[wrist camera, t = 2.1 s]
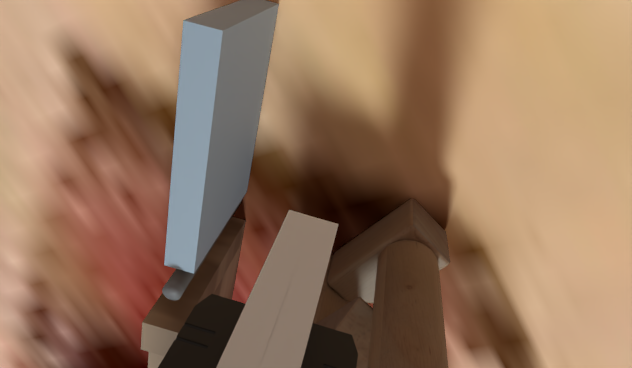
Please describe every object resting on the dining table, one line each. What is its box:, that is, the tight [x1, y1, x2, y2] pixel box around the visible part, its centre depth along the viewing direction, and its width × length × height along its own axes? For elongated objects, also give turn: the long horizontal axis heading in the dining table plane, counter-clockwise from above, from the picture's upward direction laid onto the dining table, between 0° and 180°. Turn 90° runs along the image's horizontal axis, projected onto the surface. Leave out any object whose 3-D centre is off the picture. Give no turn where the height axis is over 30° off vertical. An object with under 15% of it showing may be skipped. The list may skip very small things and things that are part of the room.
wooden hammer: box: [313, 198, 450, 368], centre depth 25 cm, size 4×11×18 cm, turn 135°
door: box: [164, 0, 279, 274], centre depth 25 cm, size 3×12×9 cm, turn 168°
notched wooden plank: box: [141, 200, 246, 368], centre depth 31 cm, size 2×15×11 cm, turn 167°
